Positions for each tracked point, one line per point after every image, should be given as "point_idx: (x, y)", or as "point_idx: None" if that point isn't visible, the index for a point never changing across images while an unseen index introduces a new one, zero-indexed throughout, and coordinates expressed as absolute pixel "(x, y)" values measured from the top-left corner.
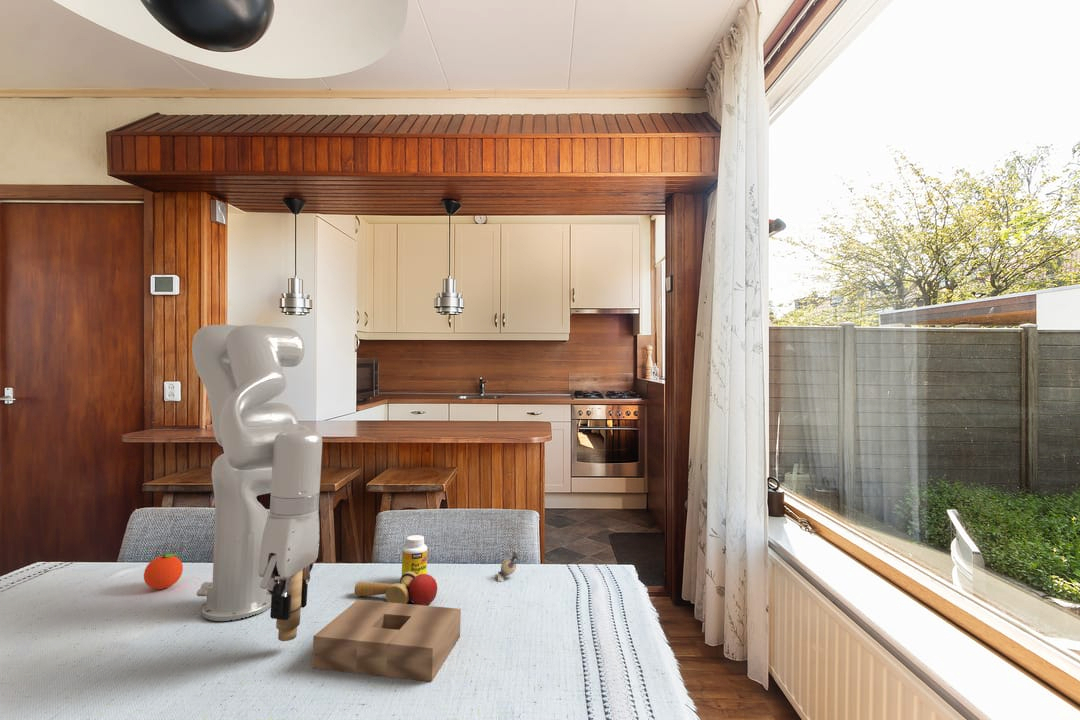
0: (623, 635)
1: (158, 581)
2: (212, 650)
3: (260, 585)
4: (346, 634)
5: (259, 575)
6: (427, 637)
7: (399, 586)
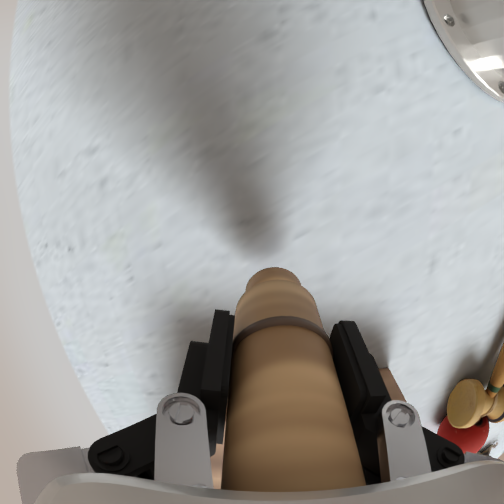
0: None
1: None
2: (263, 43)
3: (18, 464)
4: (213, 461)
5: (51, 482)
6: None
7: (466, 425)
